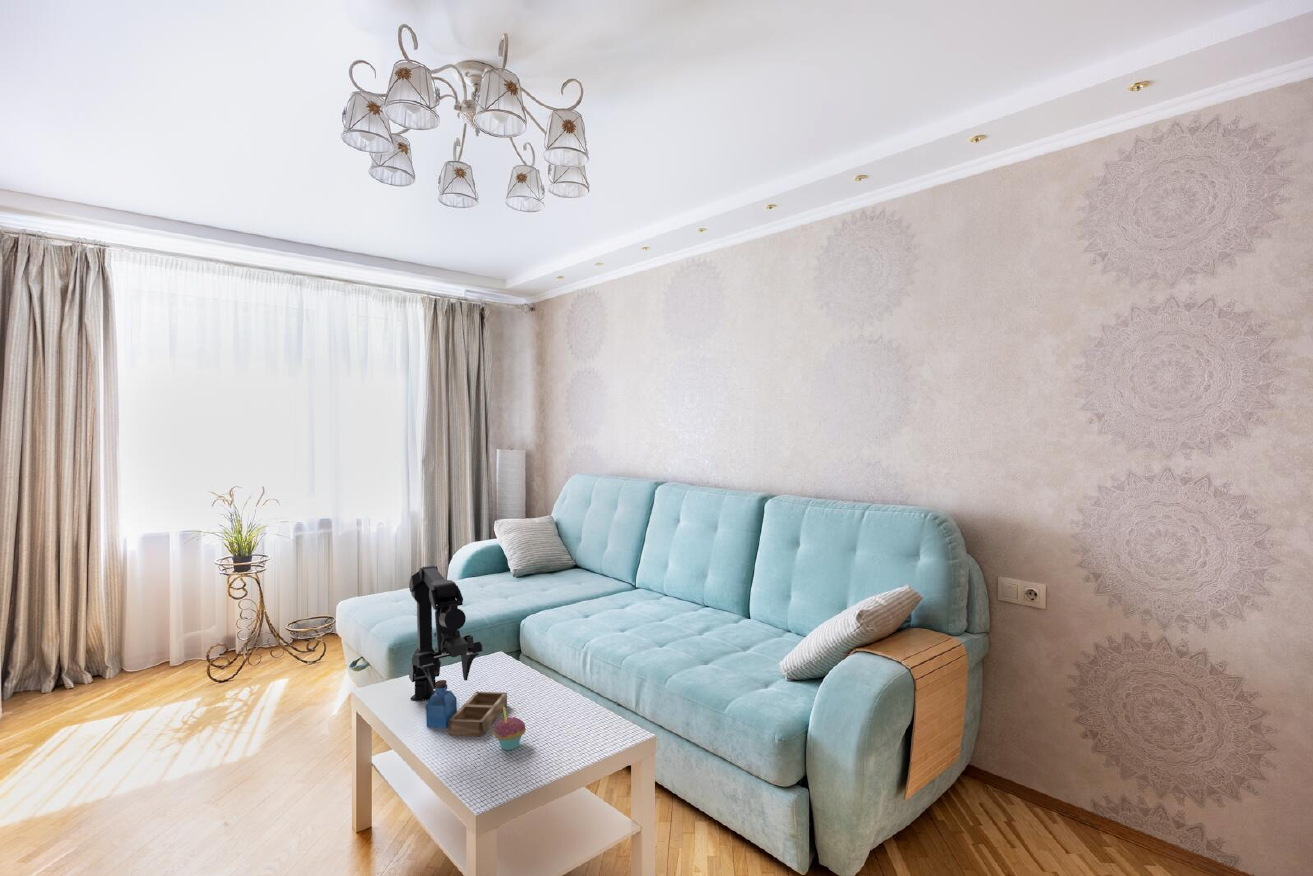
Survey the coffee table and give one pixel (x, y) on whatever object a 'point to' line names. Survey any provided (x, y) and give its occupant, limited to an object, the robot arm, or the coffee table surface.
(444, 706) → the perfume bottle
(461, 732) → the wooden divided tray
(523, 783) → the coffee table surface
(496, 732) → the cupcake
